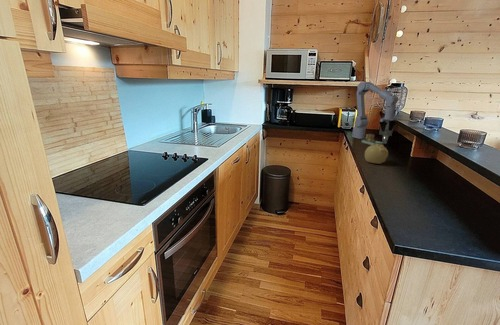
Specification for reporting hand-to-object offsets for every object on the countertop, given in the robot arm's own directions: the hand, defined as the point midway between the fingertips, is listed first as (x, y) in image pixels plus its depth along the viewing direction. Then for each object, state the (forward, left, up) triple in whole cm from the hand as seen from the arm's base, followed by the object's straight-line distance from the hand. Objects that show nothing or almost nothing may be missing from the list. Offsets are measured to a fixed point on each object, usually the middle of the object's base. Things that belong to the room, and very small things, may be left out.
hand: (386, 131), depth 192 cm
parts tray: (-3, -10, -9) cm, 14 cm away
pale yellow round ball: (+33, -47, -10) cm, 58 cm away
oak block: (-5, -10, -9) cm, 14 cm away
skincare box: (-22, +27, -10) cm, 37 cm away
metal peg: (0, 0, -9) cm, 9 cm away
